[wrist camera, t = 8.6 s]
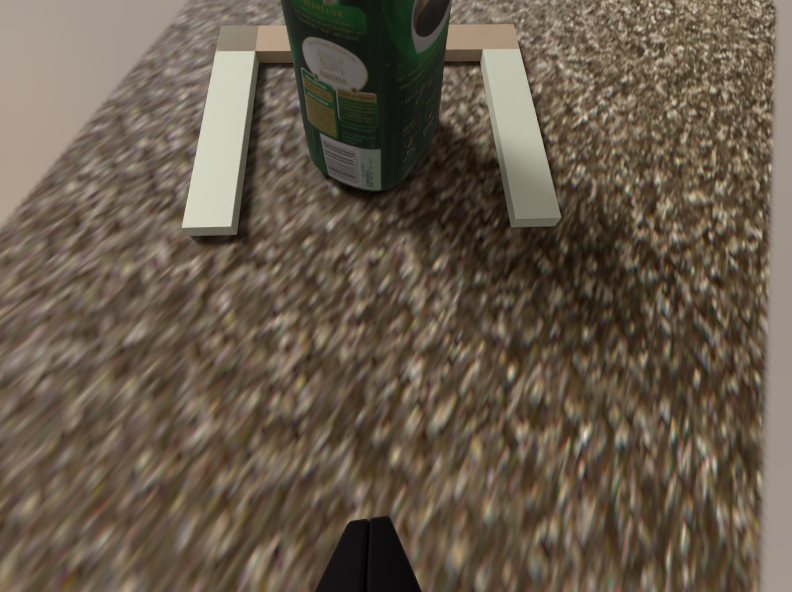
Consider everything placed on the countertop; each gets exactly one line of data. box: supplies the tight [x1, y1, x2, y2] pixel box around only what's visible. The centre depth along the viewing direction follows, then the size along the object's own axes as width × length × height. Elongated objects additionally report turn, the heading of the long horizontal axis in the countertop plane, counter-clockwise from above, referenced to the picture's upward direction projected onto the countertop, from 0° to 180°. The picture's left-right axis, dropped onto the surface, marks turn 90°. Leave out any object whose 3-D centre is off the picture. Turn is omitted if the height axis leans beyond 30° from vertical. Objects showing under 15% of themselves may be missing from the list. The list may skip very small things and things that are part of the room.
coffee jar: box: [281, 0, 452, 192], centre depth 19 cm, size 10×8×19 cm
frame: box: [182, 24, 561, 236], centre depth 28 cm, size 19×24×1 cm
